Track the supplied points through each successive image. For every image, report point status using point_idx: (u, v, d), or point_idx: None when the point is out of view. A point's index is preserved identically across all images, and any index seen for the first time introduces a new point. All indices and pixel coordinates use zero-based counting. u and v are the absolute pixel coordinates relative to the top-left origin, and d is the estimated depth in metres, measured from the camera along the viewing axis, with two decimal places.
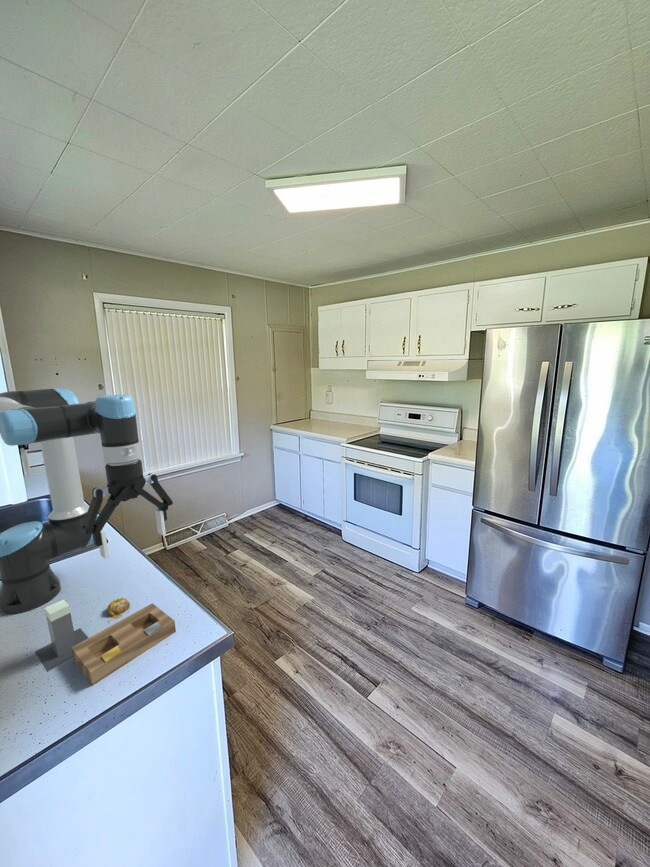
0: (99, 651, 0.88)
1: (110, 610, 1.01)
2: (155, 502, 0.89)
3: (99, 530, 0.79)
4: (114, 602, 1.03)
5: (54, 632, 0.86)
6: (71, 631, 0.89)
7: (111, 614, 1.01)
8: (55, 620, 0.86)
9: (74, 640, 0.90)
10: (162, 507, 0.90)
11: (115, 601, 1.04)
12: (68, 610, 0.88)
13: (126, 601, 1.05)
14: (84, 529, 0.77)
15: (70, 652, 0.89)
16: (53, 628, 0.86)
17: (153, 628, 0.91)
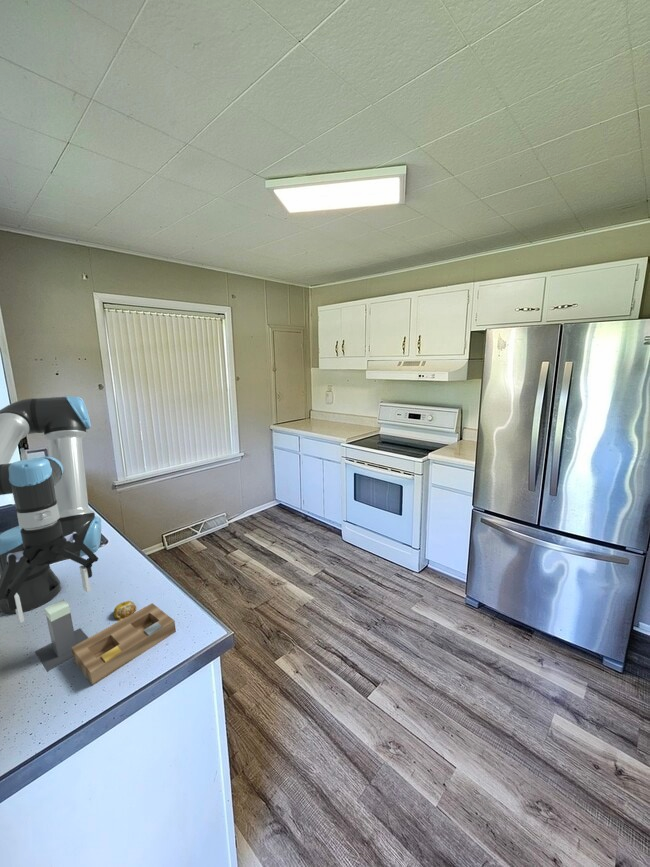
0: (99, 651, 0.88)
1: (116, 613, 1.00)
2: (77, 560, 0.89)
3: (12, 595, 0.80)
4: (120, 605, 1.02)
5: (54, 632, 0.86)
6: (71, 631, 0.89)
7: (117, 617, 1.00)
8: (55, 620, 0.86)
9: (74, 640, 0.90)
10: (86, 564, 0.91)
11: (121, 604, 1.03)
12: (68, 610, 0.88)
13: (132, 604, 1.04)
14: None
15: (70, 652, 0.89)
16: (53, 628, 0.86)
17: (153, 628, 0.91)
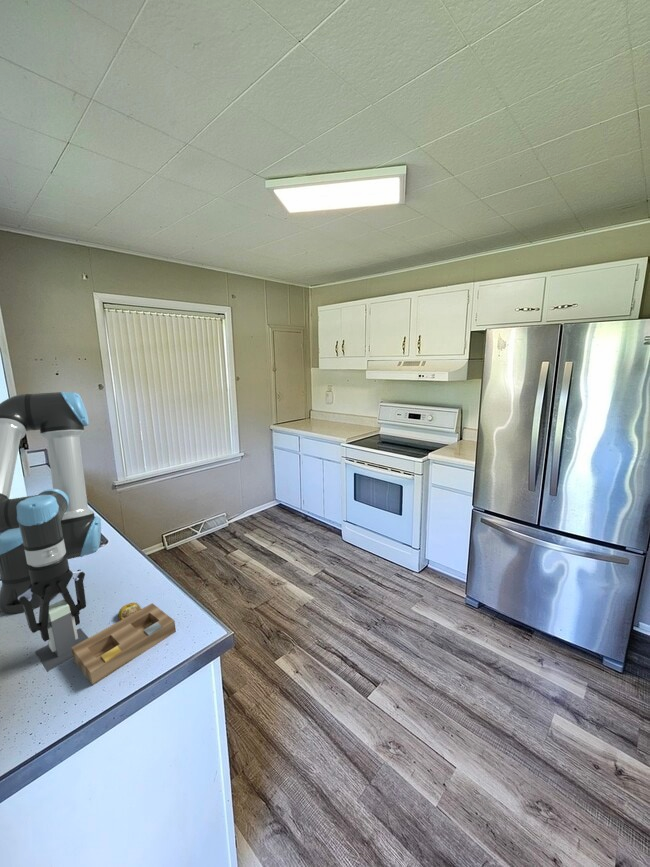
0: (99, 651, 0.88)
1: (121, 615, 0.99)
2: (70, 604, 0.89)
3: (45, 626, 0.85)
4: (125, 607, 1.01)
5: (54, 632, 0.86)
6: (71, 631, 0.89)
7: None
8: (55, 620, 0.86)
9: (74, 640, 0.90)
10: (74, 611, 0.90)
11: (127, 606, 1.02)
12: (68, 610, 0.88)
13: (138, 606, 1.03)
14: (30, 629, 0.84)
15: (70, 652, 0.89)
16: (53, 628, 0.86)
17: (153, 628, 0.91)
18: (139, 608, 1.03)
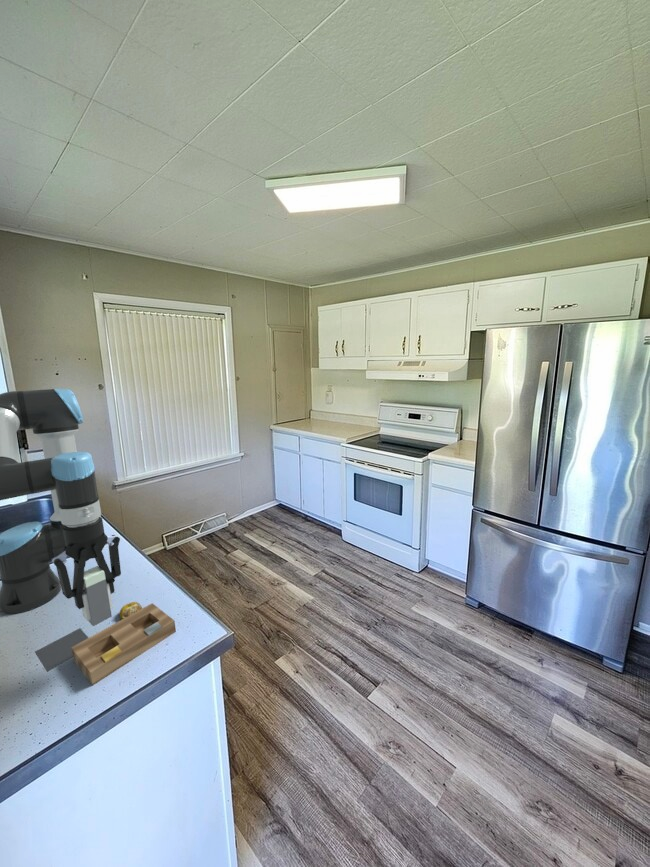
0: (99, 651, 0.88)
1: (122, 615, 0.99)
2: (105, 570, 0.83)
3: (80, 593, 0.80)
4: (126, 606, 1.01)
5: (89, 599, 0.81)
6: (106, 599, 0.83)
7: (123, 618, 0.99)
8: (91, 586, 0.81)
9: (109, 609, 0.84)
10: (109, 578, 0.84)
11: (127, 605, 1.02)
12: (103, 576, 0.83)
13: (138, 605, 1.03)
14: (65, 595, 0.78)
15: (70, 652, 0.89)
16: (88, 595, 0.80)
17: (153, 628, 0.91)
18: (140, 607, 1.03)
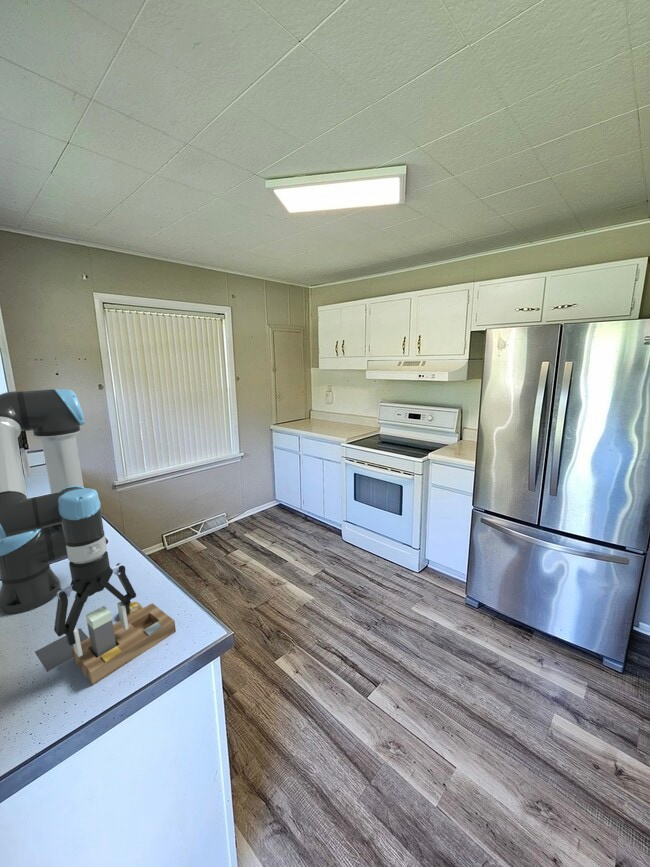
0: None
1: None
2: (118, 596, 0.87)
3: (72, 630, 0.79)
4: None
5: (96, 640, 0.83)
6: (112, 639, 0.86)
7: None
8: (98, 627, 0.83)
9: None
10: (124, 601, 0.88)
11: None
12: (110, 617, 0.85)
13: (139, 605, 1.03)
14: (56, 632, 0.78)
15: (70, 652, 0.89)
16: (95, 636, 0.83)
17: (153, 628, 0.91)
18: (140, 607, 1.03)
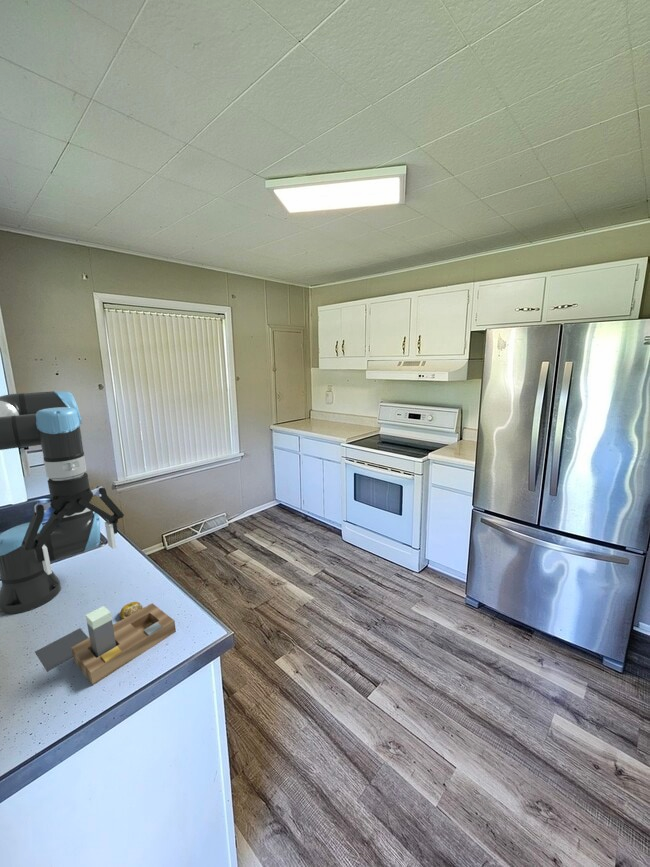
0: None
1: (123, 614, 1.00)
2: (104, 515, 0.87)
3: (40, 546, 0.77)
4: (127, 606, 1.02)
5: (96, 640, 0.83)
6: (112, 639, 0.86)
7: None
8: (98, 627, 0.83)
9: None
10: (112, 520, 0.89)
11: (128, 605, 1.02)
12: (110, 617, 0.85)
13: (139, 605, 1.03)
14: (24, 545, 0.76)
15: (70, 652, 0.89)
16: (95, 636, 0.83)
17: (153, 628, 0.91)
18: (141, 607, 1.03)
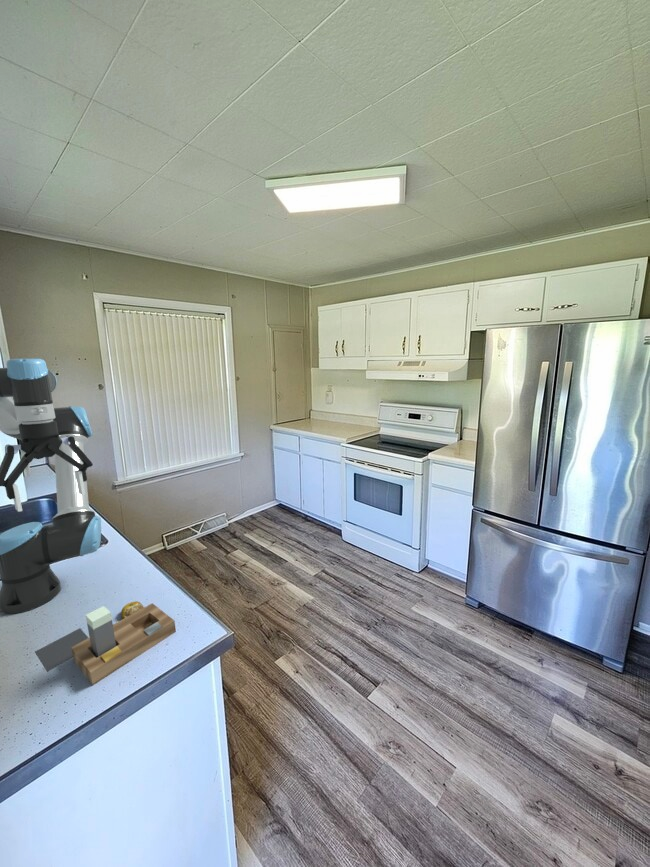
0: None
1: (124, 614, 1.00)
2: (73, 462, 0.94)
3: (11, 484, 0.85)
4: (128, 605, 1.02)
5: (96, 640, 0.83)
6: (112, 639, 0.86)
7: None
8: (98, 627, 0.83)
9: None
10: (81, 468, 0.96)
11: (129, 604, 1.02)
12: (110, 617, 0.85)
13: (140, 605, 1.03)
14: None
15: (70, 652, 0.89)
16: (95, 636, 0.83)
17: (153, 628, 0.91)
18: (141, 607, 1.03)
